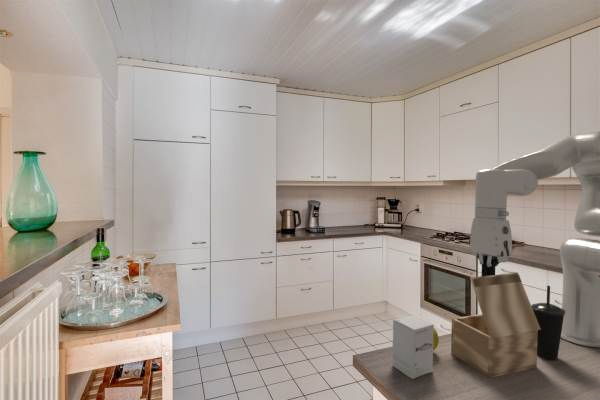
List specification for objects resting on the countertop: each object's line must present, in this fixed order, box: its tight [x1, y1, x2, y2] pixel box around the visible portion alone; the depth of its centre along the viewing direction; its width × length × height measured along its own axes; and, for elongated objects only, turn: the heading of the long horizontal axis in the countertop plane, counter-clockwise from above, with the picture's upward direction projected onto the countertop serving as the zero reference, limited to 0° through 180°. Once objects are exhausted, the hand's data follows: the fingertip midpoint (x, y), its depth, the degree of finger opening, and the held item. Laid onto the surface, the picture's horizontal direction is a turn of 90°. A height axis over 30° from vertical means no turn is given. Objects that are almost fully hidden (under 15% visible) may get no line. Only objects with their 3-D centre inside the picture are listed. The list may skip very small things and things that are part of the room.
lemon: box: [433, 328, 440, 351], centre depth 93 cm, size 6×6×8 cm
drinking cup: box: [531, 285, 566, 361], centre depth 91 cm, size 8×8×20 cm
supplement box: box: [391, 315, 435, 380], centre depth 84 cm, size 7×7×13 cm
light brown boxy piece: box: [450, 313, 538, 379], centre depth 89 cm, size 16×13×10 cm
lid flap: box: [469, 272, 541, 339], centre depth 86 cm, size 17×15×1 cm
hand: (488, 279), depth 90 cm, fingers closed
